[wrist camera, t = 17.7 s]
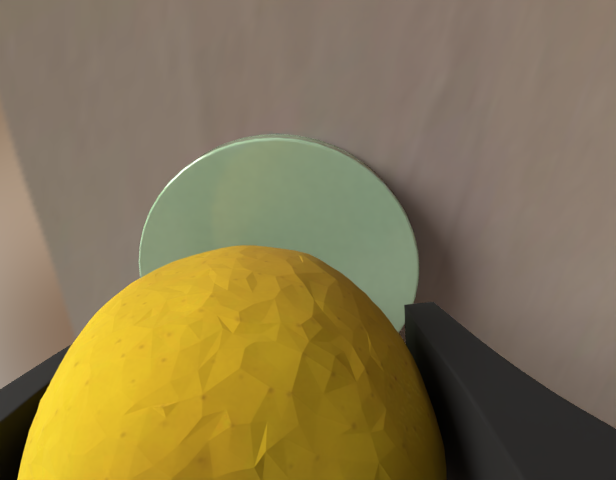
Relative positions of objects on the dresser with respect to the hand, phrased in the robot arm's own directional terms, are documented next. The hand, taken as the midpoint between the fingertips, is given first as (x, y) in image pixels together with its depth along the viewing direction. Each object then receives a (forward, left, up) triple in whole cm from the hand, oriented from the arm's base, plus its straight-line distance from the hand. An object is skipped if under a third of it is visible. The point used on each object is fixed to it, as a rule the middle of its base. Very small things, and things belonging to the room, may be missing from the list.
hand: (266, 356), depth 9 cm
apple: (0, 0, -2) cm, 2 cm away
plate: (0, 0, -4) cm, 4 cm away
